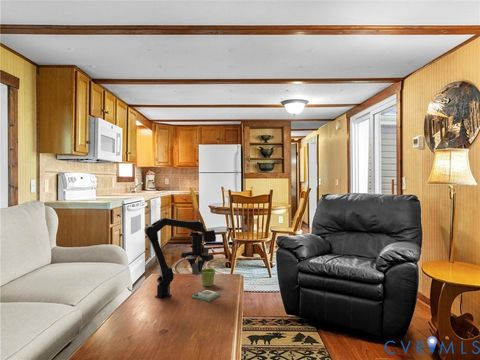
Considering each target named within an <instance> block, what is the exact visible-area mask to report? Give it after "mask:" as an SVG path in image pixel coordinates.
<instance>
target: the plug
mask: <svg viewBox="0 0 480 360" xmlns="http://www.w3.org/2000/svg"><path fill="white" fill-rule="evenodd" d="M191 274H192V275H195V276H199V275H201V274H202V271H201V272H199V266H198V260H195V263H192V267H191Z"/></svg>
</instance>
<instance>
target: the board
mask: <svg viewBox="0 0 480 360" xmlns="http://www.w3.org/2000/svg"><path fill="white" fill-rule="evenodd" d="M218 297H220V293H218V292H217V291H213V290H208V289H206V290H200V291H199V292H196V293H194V294H193V295H191V298H192V299H196V300H200V301H205V302H211V301H212V300H214V299H216V298H218Z"/></svg>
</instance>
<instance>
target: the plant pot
mask: <svg viewBox="0 0 480 360" xmlns="http://www.w3.org/2000/svg"><path fill="white" fill-rule="evenodd" d="M216 272H217V269H215V268H202V274H200V275H201V280H202V286H203V287H212V286H214V281H215V274H216Z"/></svg>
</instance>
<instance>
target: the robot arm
mask: <svg viewBox="0 0 480 360" xmlns="http://www.w3.org/2000/svg"><path fill="white" fill-rule="evenodd" d="M165 226H169V227H175V228H183V229H188V230H191V231H190V232H189V233H187V234H188V237H191V245H189V247H190V249H191V251H190V250H187V251H183V252H181V254H180V256H181V258H182V259H185V260H186V261H188V263H189V266H190V267H191V268H192V263H195V262H196V261H198V266H199V272H201V271H202V269H204V268H203V267H204V266H205V265H204V264H205V263H206V262H209V261H212V260H214V254H212V253H209V252H210V249H209V248H207V247H205V246H204V244H206V243H207V244H208V243H216V241H217V236H216V233H215V230H214V229H211V230H206V229H205V228H204V224H203V222H201V221H199V220H196V219H195V220H183V219H182V220H181V219H175V218H169V217H161V218H160V219H158V220H156V221H154V222H153V223H152V224H148V225H146V226H145V227H144V230H143V231H144V233H145V236H146V237H147V238H148V240H149V242H150V244H151V246H152V249H153V252H154V254H155V257H156V260H157V263H158V266H159V272H160V273H159V274H160V275H159V277H158V278H157V279H156V282H157V286H156V287H157V289H156V290H157V291H156V295H154V297H155V298H159V299H167V298H169V297H171V296H172V295H173V294H171V286H170V285H171V283H172V282H173V281H174V275H175V273H174V271H173V268H172V266H171V265H170V264H169V265H167V262H166V259H165V256H164V253H163V250H162V247H161V244H160V241H159V233H158V232H159V231H161V230H162V229H163V228H164V227H165ZM203 242H204V244H203ZM197 259H199V260H197Z"/></svg>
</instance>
